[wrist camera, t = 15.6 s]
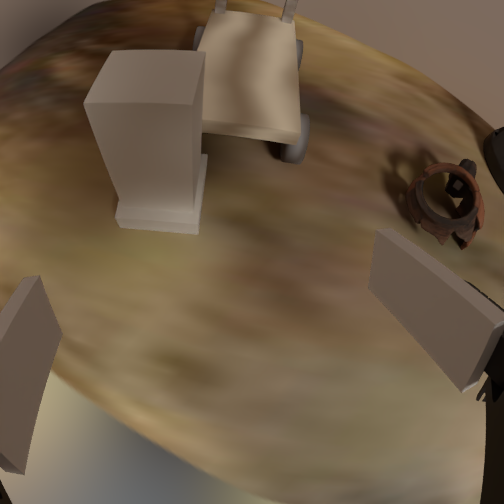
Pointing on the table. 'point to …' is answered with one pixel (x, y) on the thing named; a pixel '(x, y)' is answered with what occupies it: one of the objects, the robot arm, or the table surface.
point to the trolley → (253, 78)
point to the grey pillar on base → (152, 136)
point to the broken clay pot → (457, 187)
